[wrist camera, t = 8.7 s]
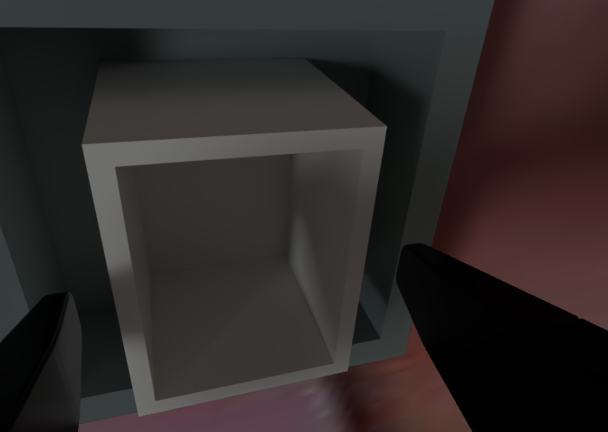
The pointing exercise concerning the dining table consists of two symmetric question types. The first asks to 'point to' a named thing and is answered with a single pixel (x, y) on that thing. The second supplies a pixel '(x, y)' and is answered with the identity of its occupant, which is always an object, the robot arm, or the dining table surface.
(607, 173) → the dining table surface
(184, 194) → the small crate
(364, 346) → the big crate
